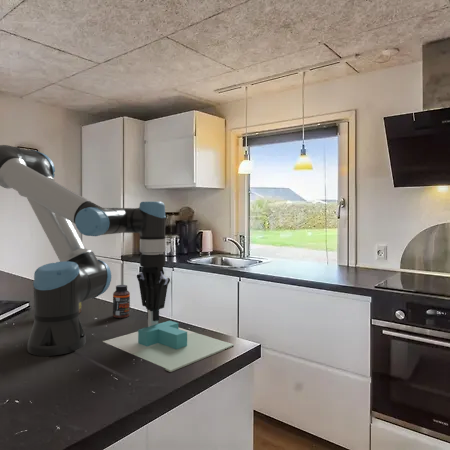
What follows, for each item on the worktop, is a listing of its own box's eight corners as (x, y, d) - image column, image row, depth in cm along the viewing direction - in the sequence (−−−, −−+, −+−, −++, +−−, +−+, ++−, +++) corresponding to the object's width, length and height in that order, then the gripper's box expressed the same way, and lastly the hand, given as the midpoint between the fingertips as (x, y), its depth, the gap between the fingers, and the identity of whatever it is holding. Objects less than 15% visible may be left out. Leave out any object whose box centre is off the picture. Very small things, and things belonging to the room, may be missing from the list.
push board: (170, 372, 93) (170, 370, 93) (102, 343, 112) (102, 341, 112) (233, 346, 111) (233, 344, 111) (165, 324, 131) (165, 323, 131)
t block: (165, 353, 103) (165, 338, 103) (138, 343, 111) (138, 329, 111) (197, 342, 113) (197, 328, 112) (169, 333, 120) (169, 320, 120)
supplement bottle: (119, 319, 136) (119, 287, 136) (109, 316, 140) (109, 285, 140) (133, 316, 141) (133, 285, 141) (122, 313, 145) (122, 283, 144)
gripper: (176, 253, 114) (177, 332, 115) (149, 250, 122) (149, 323, 123) (157, 255, 108) (157, 338, 109) (129, 252, 117) (129, 329, 118)
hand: (153, 330), depth 116 cm, fingers closed
